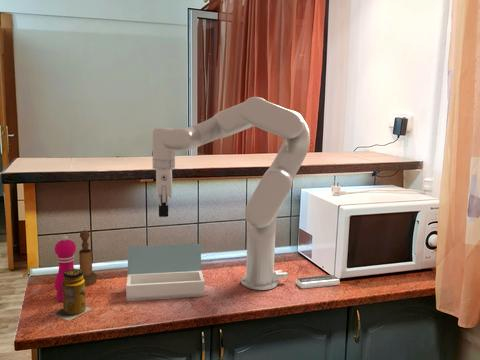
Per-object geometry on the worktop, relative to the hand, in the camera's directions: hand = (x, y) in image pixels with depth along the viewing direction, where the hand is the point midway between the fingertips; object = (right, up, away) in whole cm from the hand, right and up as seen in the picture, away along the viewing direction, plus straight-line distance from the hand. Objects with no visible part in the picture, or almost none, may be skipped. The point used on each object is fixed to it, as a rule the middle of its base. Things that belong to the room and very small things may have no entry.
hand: (163, 216), depth 147 cm
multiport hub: (+54, -24, -1) cm, 59 cm away
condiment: (-22, -26, -25) cm, 42 cm away
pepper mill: (-27, -24, -16) cm, 39 cm away
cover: (+2, -14, -7) cm, 15 cm away
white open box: (+3, -24, -11) cm, 26 cm away
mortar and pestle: (-25, -22, -5) cm, 34 cm away
